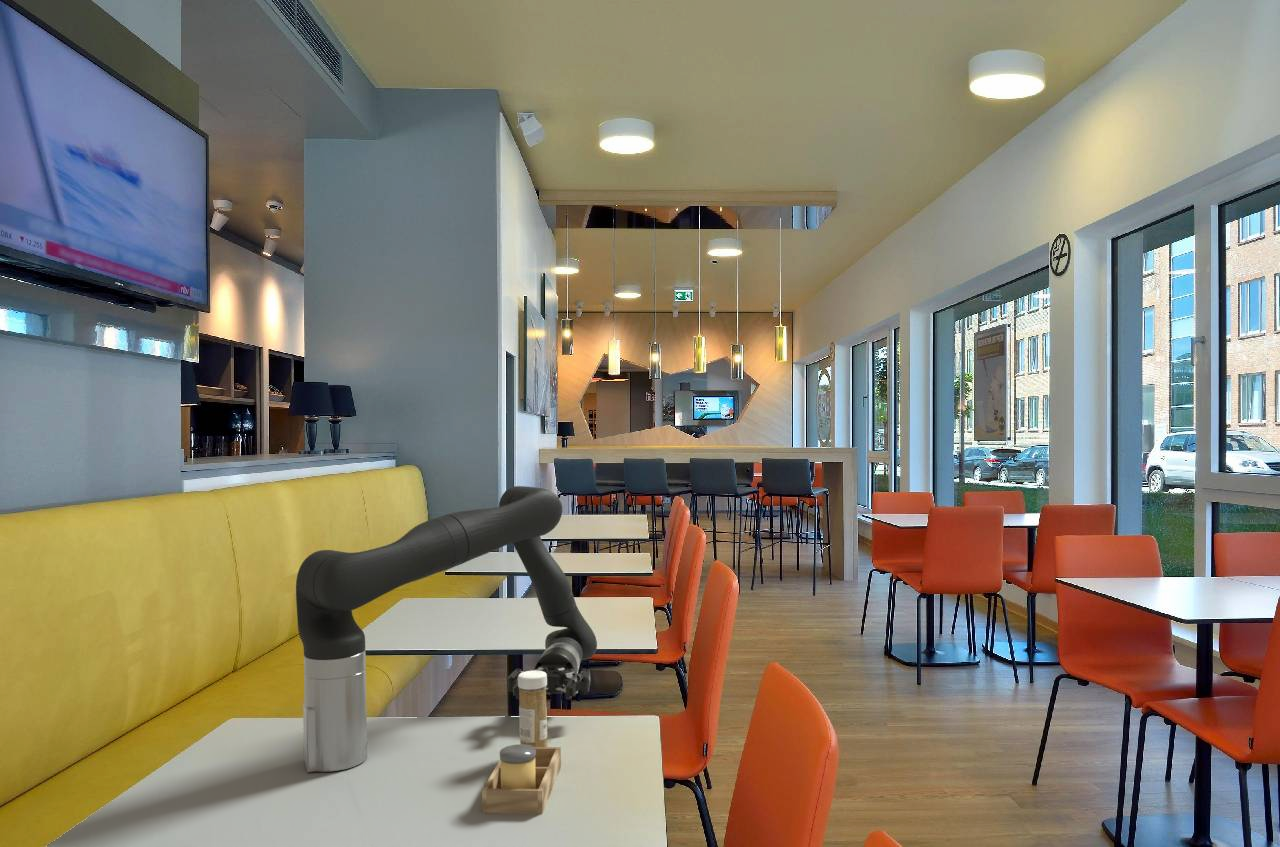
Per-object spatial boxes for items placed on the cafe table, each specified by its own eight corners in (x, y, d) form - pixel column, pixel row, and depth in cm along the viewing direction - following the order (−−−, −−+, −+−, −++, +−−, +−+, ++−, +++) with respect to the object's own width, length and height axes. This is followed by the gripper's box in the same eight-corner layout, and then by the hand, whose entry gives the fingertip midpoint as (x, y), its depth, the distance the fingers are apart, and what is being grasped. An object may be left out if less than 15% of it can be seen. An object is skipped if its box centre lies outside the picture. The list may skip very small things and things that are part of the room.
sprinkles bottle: (553, 759, 136) (551, 674, 136) (527, 766, 133) (525, 679, 134) (540, 750, 140) (538, 667, 140) (514, 757, 137) (513, 672, 137)
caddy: (542, 817, 116) (542, 790, 116) (482, 816, 117) (481, 790, 117) (561, 770, 132) (560, 747, 132) (508, 769, 132) (507, 746, 132)
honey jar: (506, 810, 117) (505, 760, 117) (495, 796, 121) (495, 748, 122) (541, 802, 119) (540, 753, 119) (529, 789, 124) (529, 742, 124)
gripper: (520, 646, 163) (501, 670, 146) (595, 646, 162) (584, 671, 145) (520, 686, 163) (501, 715, 146) (596, 687, 162) (585, 715, 145)
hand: (542, 693), depth 146 cm, fingers open, 8 cm apart
